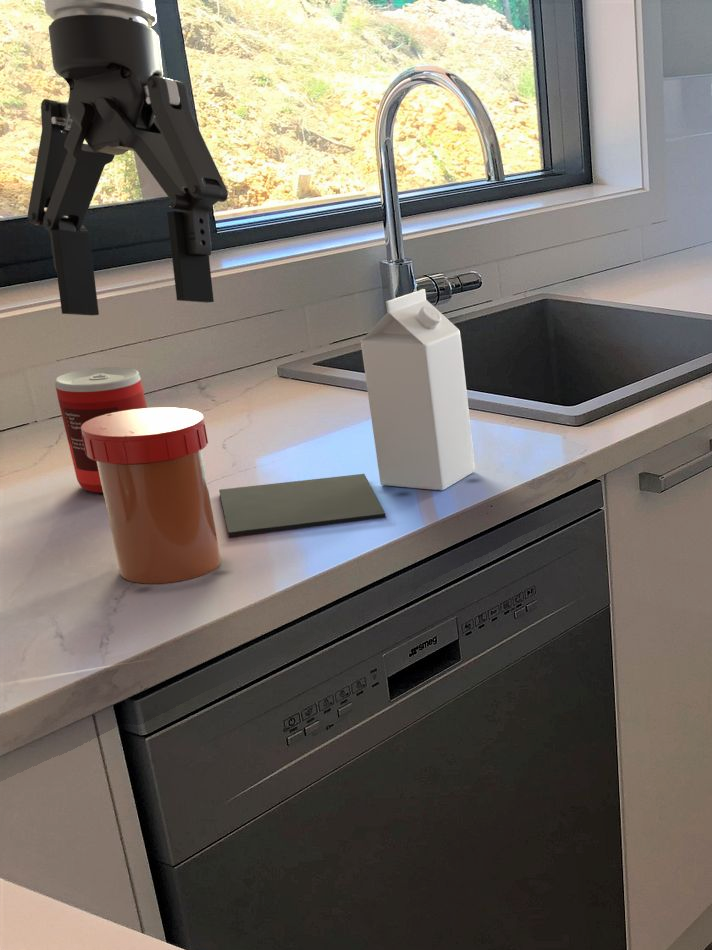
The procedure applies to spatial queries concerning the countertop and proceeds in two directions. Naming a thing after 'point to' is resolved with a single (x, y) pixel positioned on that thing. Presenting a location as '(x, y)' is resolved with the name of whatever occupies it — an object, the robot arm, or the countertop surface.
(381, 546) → the countertop surface
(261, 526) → the mat
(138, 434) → the jar lid
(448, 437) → the milk carton
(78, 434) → the canned food
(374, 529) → the countertop surface
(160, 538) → the jar
